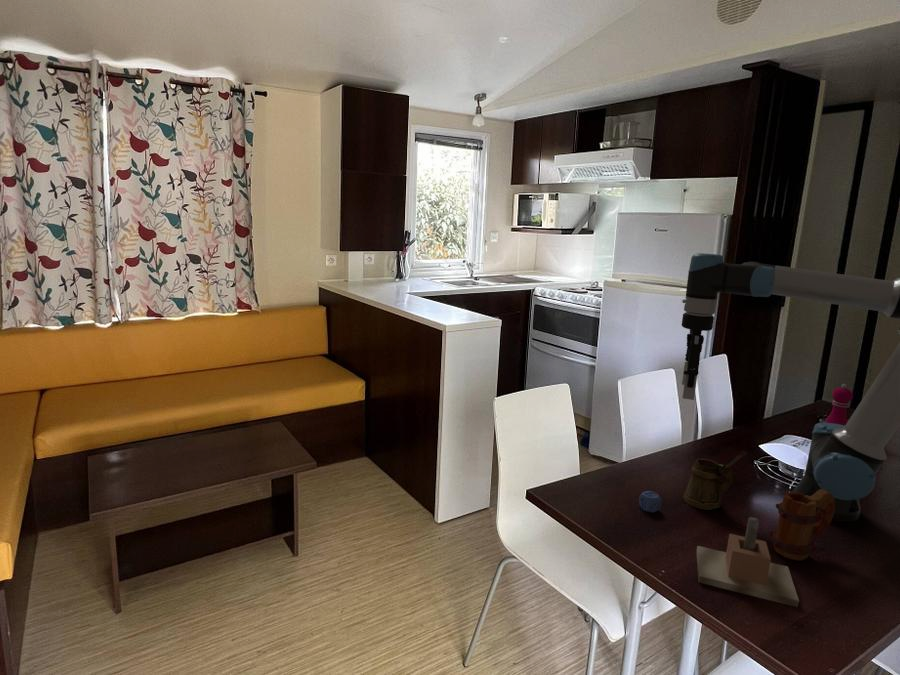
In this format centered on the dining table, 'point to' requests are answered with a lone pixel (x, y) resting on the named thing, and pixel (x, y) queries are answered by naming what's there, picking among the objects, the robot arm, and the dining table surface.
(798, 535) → the mug
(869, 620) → the dining table surface
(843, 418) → the pepper mill
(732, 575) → the bead
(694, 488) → the wooden mug
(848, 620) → the dining table surface
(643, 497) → the decorative dice
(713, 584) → the peg stand
